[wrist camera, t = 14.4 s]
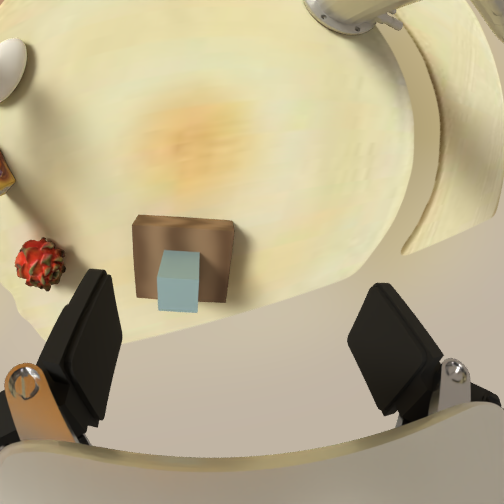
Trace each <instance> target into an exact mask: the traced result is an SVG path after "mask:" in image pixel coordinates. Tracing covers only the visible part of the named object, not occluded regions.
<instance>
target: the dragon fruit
mask: <svg viewBox="0 0 504 504" xmlns="http://www.w3.org/2000/svg"><path fill="white" fill-rule="evenodd" d="M45 239H46V238H44V237H43V238H42V239H41V240H40V241H35V240H29V241H27V242H25V243H24V244H23V247H22V248H21V249H20V252H19V254H18V256H17V257H16V260H15V267H17V276H18V277H20V278H23V279H27V280H26V283H25V284H26V285H28V286H35V287H39V288H40V289H45V290H46V291H49V290H50V288H51V285H53V284H58V283H59V281H60V277H61V275H62V273H64V272H65V270H66V267H65V264H64V263H63V259H62V258H61V256H62V257H64V256H65V253H64V251H63V250H61V249H54V247H55V244H54V243H52V242H47V241H46V240H45Z"/></svg>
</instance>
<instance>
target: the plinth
mask: <svg viewBox="0 0 504 504" xmlns="http://www.w3.org/2000/svg"><path fill="white" fill-rule="evenodd" d="M234 232H235V231H234V227H233V223H232V221H229V220H215V219H201V218H186V217H170V216H152V215H138V216H137V218H136V220H135V221H134V223H133V224H132V236H133V257H134V272H135V284H136V295H137V298H149V299H158V291H157V275H158V271H159V267H160V263H161V260H162V256H163V252H164V250H171V251H187V252H200V259H199V290H198V302H220V303H226V296H227V288H228V279H229V271H230V263H231V255H232V247H233V240H234Z"/></svg>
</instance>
